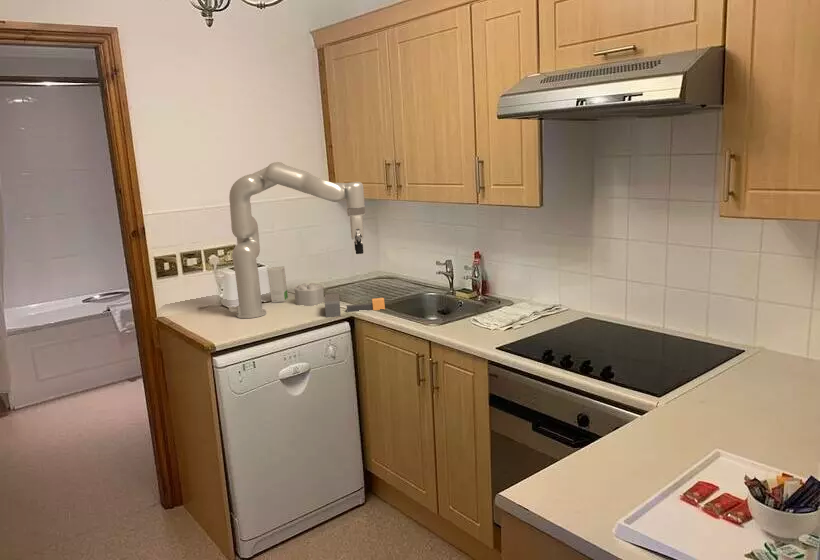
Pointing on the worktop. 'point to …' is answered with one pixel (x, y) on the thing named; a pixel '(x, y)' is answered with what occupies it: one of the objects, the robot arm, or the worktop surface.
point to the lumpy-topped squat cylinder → (309, 294)
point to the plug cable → (368, 305)
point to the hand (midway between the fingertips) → (359, 251)
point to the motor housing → (332, 305)
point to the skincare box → (278, 284)
